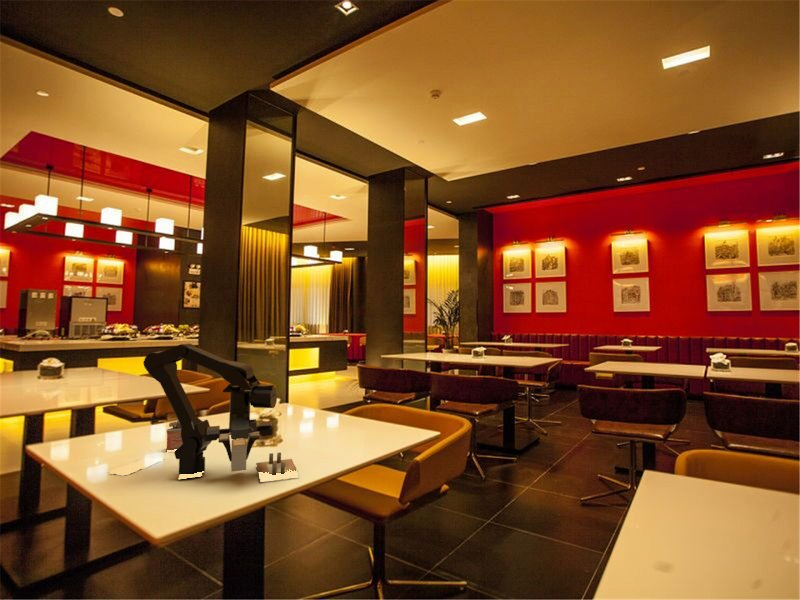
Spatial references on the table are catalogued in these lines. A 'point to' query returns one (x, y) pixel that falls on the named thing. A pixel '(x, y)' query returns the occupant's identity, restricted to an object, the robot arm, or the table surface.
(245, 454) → the block
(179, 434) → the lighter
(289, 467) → the pin tray
